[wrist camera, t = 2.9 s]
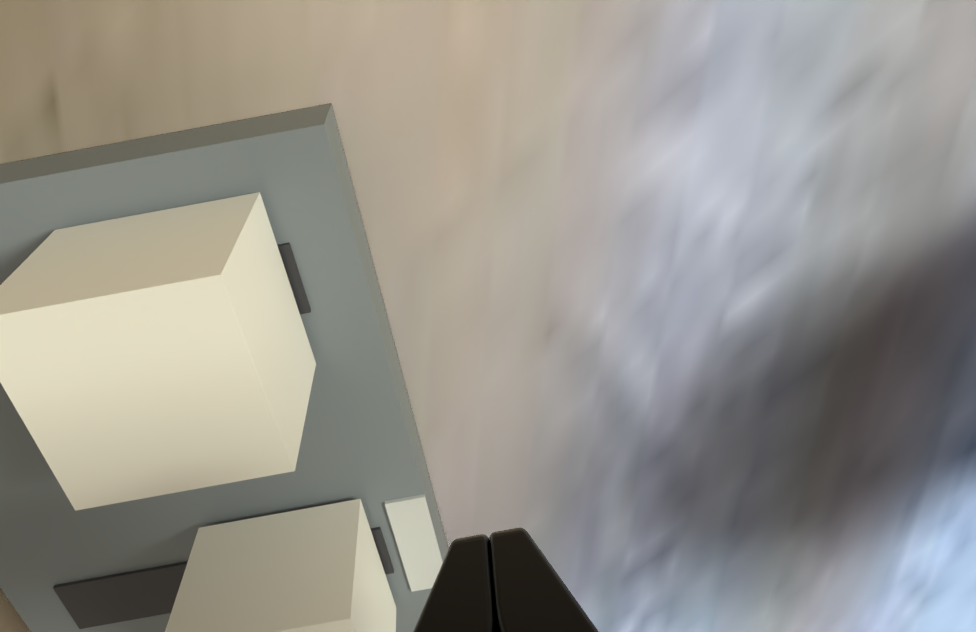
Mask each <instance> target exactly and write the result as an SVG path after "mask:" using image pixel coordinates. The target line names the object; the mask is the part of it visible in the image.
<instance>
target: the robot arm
mask: <svg viewBox="0 0 976 632" xmlns="http://www.w3.org/2000/svg"><path fill="white" fill-rule="evenodd" d="M413 632H598V630H597V629H596V627H595V626H594V625H593V623H592V622H591V620H590V619H589V618H588V616H587V615H586V613H585V612H584V611H583V609H582V608H581V606H580V605H579V604H578V602H577V601H576V599H575V598H574V597H573V595H572V594H571V592H570V591H569V590H568V588H567V587H566V585H565V584H564V583H563V581H562V580H561V578H560V577H559V576H558V574H557V573H556V571H555V570H554V569H553V567H552V566H551V564H550V563H549V562H548V560H547V559H546V557H545V556H544V555H543V553H542V552H541V550H540V549H539V548H538V546H537V545H536V543H535V542H534V541H533V539H532V538H531V536H530V535H529V534H528V532H527V531H526V530H525V529H523V528H515V529H509V530H504V531H498V532H494V533H492V534H491V535H490V538H488V537H487V536H486V535H476V536H470V537H465V538H459V539H456V540H454V541H453V542H452V543H451V545H450V547H449V549H448V552H447V554H446V556H445V559H444V561H443V563H442V566H441V568H440V570H439V573H438V575H437V577H436V580H435V582H434V584H433V587H432V589H431V591H430V594H429V596H428V598H427V601H426V603H425V605H424V608H423V610H422V612H421V615H420V617H419V619H418V622H417V624H416V626H415V629H414V631H413Z"/></svg>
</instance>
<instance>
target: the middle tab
mask: <svg viewBox="0 0 976 632" xmlns="http://www.w3.org/2000/svg"><path fill="white" fill-rule="evenodd" d="M165 632H396V605H395V602H394V599H393V596H392V593H391V590H390V587H389V584H388V581H387V578H386V575H385V572H384V569H383V566H382V563H381V560H380V557H379V554H378V551H377V548H376V545H375V541H374V538H373V535H372V532H371V529H370V526H369V523H368V520H367V517H366V514H365V511H364V508H363V505H362V502H361V499H356V500H351V501H345V502H339V503H334V504H328V505H323V506H317V507H312V508H306V509H300V510H295V511H289V512H284V513H278V514H273V515H267V516H261V517H256V518H250V519H245V520H239V521H234V522H228V523H222V524H217V525H211V526H206V527H200V528H199V529H198V532H197V535H196V538H195V541H194V544H193V547H192V550H191V553H190V556H189V559H188V562H187V565H186V569H185V572H184V575H183V578H182V581H181V584H180V587H179V590H178V593H177V596H176V599H175V602H174V605H173V608H172V612H171V615H170V618H169V621H168V624H167V627H166V630H165Z"/></svg>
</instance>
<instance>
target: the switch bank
mask: <svg viewBox="0 0 976 632" xmlns="http://www.w3.org/2000/svg"><path fill="white" fill-rule="evenodd" d="M258 192H260V194H261V197H262V200H263V203H264V206H265V210H266V213H267V216H268V219H269V222H270V225H271V228H272V231H273V234H274V237H275V240H276V243H277V246H278V249H279V252H280V255H281V258H282V261H283V264H284V267H285V270H286V273H287V277H288V280H289V283H290V286H291V289H292V292H293V295H294V298H295V301H296V304H297V307H298V310H299V313H300V316H301V319H302V322H303V325H304V328H305V331H306V334H307V337H308V340H309V344H310V347H311V350H312V353H313V356H314V359H315V362H316V367H315V372H314V377H313V382H312V387H311V392H310V397H309V402H308V407H307V412H306V417H305V422H304V427H303V433H302V438H301V443H300V448H299V453H298V458H297V463H296V468H295V471H293V472H288V473H282V474H276V475H271V476H265V477H260V478H254V479H249V480H243V481H238V482H232V483H226V484H221V485H215V486H210V487H204V488H199V489H193V490H188V491H182V492H176V493H171V494H165V495H160V496H154V497H149V498H143V499H137V500H132V501H126V502H121V503H115V504H110V505H104V506H99V507H93V508H87V509H82V510H76V511H75V509H74V508H73V506H72V504H71V503H70V501H69V499H68V497H67V496H66V494H65V492H64V491H63V489H62V487H61V485H60V484H59V482H58V480H57V479H56V477H55V475H54V473H53V472H52V470H51V468H50V467H49V465H48V463H47V461H46V460H45V458H44V456H43V455H42V453H41V451H40V449H39V448H38V446H37V444H36V443H35V441H34V439H33V437H32V436H31V434H30V432H29V431H28V429H27V427H26V425H25V424H24V422H23V420H22V419H21V417H20V415H19V413H18V412H17V410H16V408H15V407H14V405H13V403H12V401H11V400H10V398H9V396H8V395H7V393H6V391H5V390H4V388H3V386H2V384H1V383H0V588H1V590H2V591H3V593H4V594H5V596H6V597H7V599H8V600H9V601H10V603H11V604H12V606H13V607H14V609H15V610H16V611H17V613H18V614H19V616H20V617H21V619H22V620H23V621H24V623H25V624H26V626H27V627H28V629H29V630H30V631H31V632H165V630H166V627H167V624H168V621H169V618H170V615H171V612H172V608H173V605H174V602H175V599H176V596H177V593H178V590H179V587H180V584H181V581H182V578H183V575H184V572H185V569H186V565H187V562H188V559H189V556H190V553H191V550H192V547H193V544H194V541H195V538H196V535H197V532H198V529H199V528H200V527H206V526H211V525H217V524H222V523H228V522H234V521H239V520H245V519H250V518H256V517H261V516H267V515H273V514H278V513H284V512H289V511H295V510H300V509H306V508H312V507H317V506H323V505H328V504H334V503H339V502H345V501H351V500H356V499H361V502H362V505H363V508H364V511H365V514H366V517H367V520H368V523H369V526H370V529H371V532H372V535H373V538H374V541H375V545H376V548H377V551H378V554H379V557H380V560H381V563H382V566H383V569H384V572H385V575H386V578H387V581H388V584H389V587H390V590H391V593H392V596H393V599H394V602H395V605H396V632H413V631H414V629H415V626H416V624H417V622H418V619H419V617H420V615H421V612H422V610H423V608H424V605H425V603H426V601H427V598H428V596H429V594H430V591H431V589H432V587H433V584H434V582H435V580H436V577H437V575H438V573H439V570H440V568H441V566H442V563H443V561H444V559H445V556H446V554H447V552H448V545H447V541H446V537H445V534H444V530H443V526H442V522H441V518H440V515H439V511H438V507H437V503H436V499H435V496H434V492H433V488H432V484H431V480H430V477H429V473H428V469H427V465H426V461H425V458H424V454H423V450H422V446H421V442H420V439H419V435H418V431H417V427H416V423H415V420H414V416H413V412H412V408H411V404H410V400H409V397H408V393H407V389H406V385H405V381H404V378H403V374H402V370H401V366H400V362H399V359H398V355H397V351H396V347H395V343H394V340H393V336H392V332H391V328H390V324H389V321H388V317H387V313H386V309H385V305H384V302H383V298H382V294H381V290H380V286H379V283H378V279H377V275H376V271H375V267H374V264H373V260H372V256H371V252H370V248H369V245H368V241H367V237H366V233H365V229H364V226H363V222H362V218H361V214H360V210H359V206H358V203H357V199H356V195H355V191H354V187H353V184H352V180H351V176H350V172H349V168H348V165H347V161H346V157H345V153H344V149H343V146H342V142H341V138H340V134H339V130H338V127H337V123H336V119H335V115H334V111H333V108H332V104H331V103H330V104H325V105H319V106H314V107H309V108H303V109H298V110H292V111H287V112H281V113H276V114H271V115H265V116H260V117H254V118H249V119H244V120H238V121H233V122H227V123H222V124H216V125H211V126H206V127H200V128H195V129H189V130H184V131H178V132H173V133H168V134H162V135H157V136H151V137H146V138H140V139H135V140H130V141H124V142H119V143H113V144H108V145H102V146H97V147H92V148H86V149H81V150H75V151H70V152H64V153H59V154H54V155H48V156H43V157H37V158H32V159H26V160H21V161H16V162H10V163H5V164H0V285H1V284H2V283H3V282H4V281H5V280H6V279H7V278H8V277H9V276H10V275H11V274H12V273H13V272H14V271H15V270H16V269H17V268H18V267H19V266H20V265H21V264H22V263H23V262H24V261H25V260H26V259H27V258H28V257H29V256H30V255H31V254H32V253H33V252H34V251H35V250H36V249H37V248H38V247H39V246H40V245H41V244H42V243H43V242H44V241H45V240H46V239H47V238H48V237H49V235H50V234H51V233H52V232H53V231H54V230H57V229H62V228H67V227H73V226H78V225H84V224H89V223H95V222H100V221H106V220H111V219H117V218H122V217H127V216H133V215H138V214H144V213H149V212H155V211H160V210H166V209H171V208H177V207H182V206H187V205H193V204H198V203H204V202H209V201H215V200H220V199H226V198H231V197H237V196H242V195H247V194H253V193H258Z"/></svg>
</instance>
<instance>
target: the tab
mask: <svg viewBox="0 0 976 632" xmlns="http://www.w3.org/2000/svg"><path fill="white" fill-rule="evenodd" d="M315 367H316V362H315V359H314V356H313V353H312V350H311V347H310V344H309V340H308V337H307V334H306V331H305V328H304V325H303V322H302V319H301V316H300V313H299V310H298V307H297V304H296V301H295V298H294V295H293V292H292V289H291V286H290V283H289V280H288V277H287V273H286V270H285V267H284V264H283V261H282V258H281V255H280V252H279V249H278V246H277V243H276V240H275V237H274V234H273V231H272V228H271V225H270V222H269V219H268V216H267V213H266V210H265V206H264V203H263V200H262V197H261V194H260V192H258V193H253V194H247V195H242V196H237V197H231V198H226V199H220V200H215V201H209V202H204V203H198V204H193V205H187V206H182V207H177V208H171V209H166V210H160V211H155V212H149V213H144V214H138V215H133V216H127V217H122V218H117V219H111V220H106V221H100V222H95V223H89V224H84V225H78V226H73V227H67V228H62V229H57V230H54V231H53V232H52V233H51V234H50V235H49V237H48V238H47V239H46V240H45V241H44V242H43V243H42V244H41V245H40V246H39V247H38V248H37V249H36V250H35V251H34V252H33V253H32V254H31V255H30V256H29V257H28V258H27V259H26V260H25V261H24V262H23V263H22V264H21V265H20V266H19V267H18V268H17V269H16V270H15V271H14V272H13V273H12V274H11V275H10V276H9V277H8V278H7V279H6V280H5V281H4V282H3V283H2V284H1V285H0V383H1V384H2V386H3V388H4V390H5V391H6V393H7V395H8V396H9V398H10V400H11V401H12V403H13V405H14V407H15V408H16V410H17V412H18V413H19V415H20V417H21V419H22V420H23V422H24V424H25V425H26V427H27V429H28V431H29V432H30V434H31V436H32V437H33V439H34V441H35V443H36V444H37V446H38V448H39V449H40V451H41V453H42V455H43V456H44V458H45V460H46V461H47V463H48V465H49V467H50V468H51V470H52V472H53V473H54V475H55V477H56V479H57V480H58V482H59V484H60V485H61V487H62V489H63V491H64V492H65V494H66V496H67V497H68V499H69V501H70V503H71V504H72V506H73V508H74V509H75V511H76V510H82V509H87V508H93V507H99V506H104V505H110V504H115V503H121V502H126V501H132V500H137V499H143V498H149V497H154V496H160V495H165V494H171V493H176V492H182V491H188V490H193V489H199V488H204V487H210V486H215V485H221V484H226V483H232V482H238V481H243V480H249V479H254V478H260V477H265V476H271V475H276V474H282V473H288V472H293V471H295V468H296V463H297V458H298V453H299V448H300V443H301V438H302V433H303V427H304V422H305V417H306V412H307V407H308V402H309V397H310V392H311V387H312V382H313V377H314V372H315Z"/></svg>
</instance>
